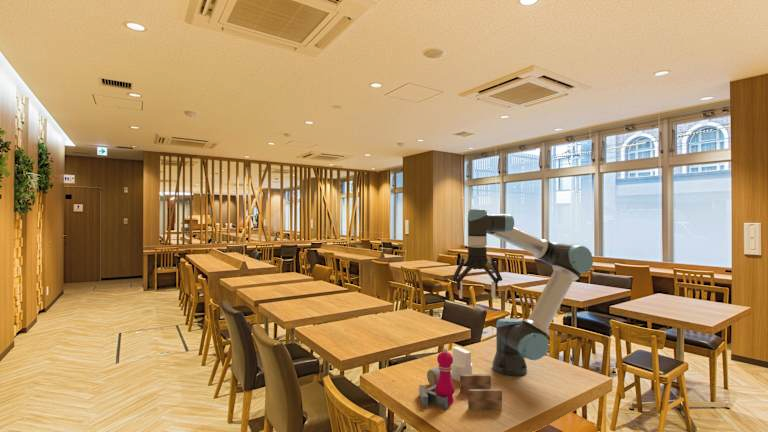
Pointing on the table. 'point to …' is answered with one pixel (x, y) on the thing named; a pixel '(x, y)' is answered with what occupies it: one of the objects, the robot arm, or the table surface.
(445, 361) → the pepper mill
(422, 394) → the letter k block
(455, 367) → the base with upright slab
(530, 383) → the table surface
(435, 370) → the ceramic mug
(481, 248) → the robot arm
